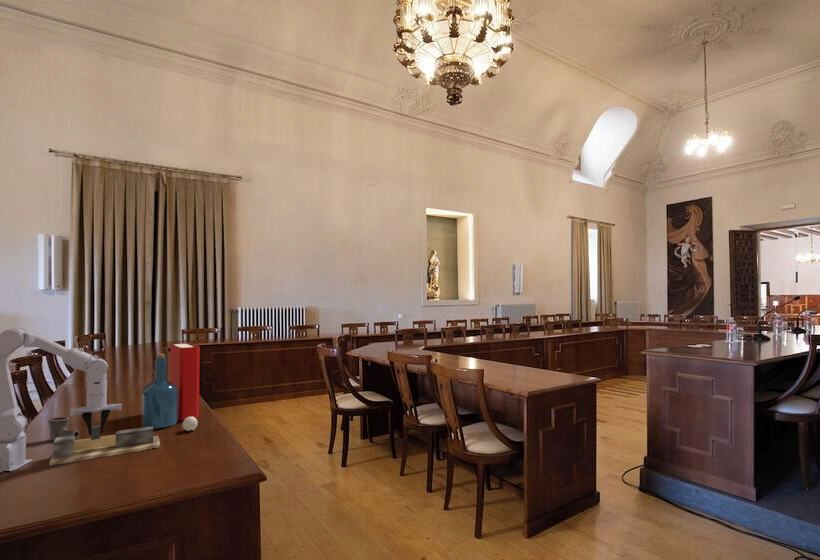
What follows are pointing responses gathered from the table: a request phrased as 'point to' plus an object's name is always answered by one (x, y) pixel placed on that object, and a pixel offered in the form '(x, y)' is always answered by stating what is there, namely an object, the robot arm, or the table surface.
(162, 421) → the wine bottle
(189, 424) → the white oval ball
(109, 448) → the grey blocks on plank
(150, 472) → the table surface
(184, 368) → the book
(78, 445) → the tan flat block
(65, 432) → the pipe
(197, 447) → the table surface
